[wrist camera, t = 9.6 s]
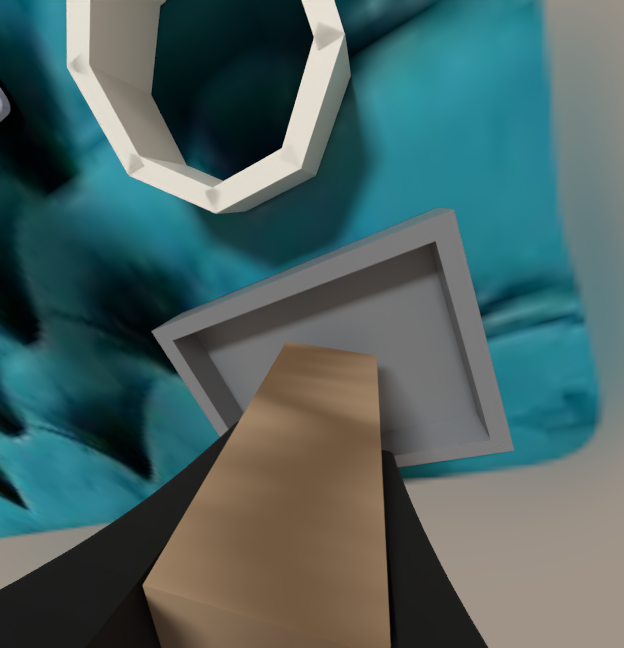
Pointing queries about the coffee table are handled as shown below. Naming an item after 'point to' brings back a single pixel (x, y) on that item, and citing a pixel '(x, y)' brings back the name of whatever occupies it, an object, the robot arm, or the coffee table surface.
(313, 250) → the coffee table surface
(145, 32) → the white octagonal ring
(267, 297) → the tray
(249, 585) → the walnut peg
